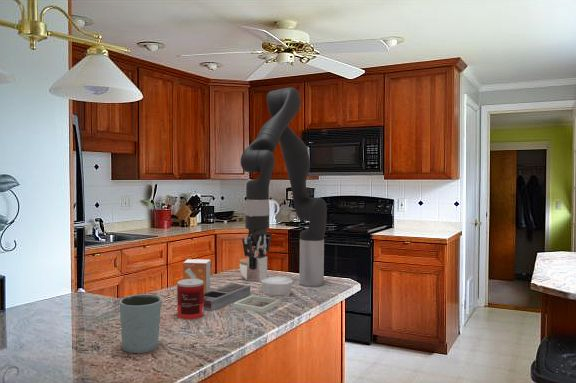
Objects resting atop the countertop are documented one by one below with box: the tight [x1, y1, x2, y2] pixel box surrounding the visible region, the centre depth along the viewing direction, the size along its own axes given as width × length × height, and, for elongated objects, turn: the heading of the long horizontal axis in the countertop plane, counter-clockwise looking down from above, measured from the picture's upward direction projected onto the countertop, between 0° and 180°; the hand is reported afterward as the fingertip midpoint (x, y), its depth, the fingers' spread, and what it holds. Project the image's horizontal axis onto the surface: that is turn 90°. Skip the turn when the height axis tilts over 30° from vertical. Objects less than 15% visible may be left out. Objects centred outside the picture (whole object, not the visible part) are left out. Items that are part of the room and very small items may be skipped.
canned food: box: [176, 279, 205, 320], centre depth 145 cm, size 8×8×11 cm
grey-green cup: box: [118, 293, 163, 354], centre depth 122 cm, size 10×10×12 cm
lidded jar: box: [239, 257, 255, 282], centre depth 196 cm, size 11×11×9 cm
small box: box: [182, 258, 212, 293], centre depth 167 cm, size 8×6×13 cm
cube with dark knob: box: [246, 254, 268, 282], centre depth 155 cm, size 5×5×7 cm
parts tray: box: [232, 294, 282, 314], centre depth 156 cm, size 11×11×2 cm
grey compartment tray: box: [204, 283, 251, 312], centre depth 161 cm, size 22×8×4 cm, turn 152°
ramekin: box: [260, 276, 294, 297], centre depth 173 cm, size 11×11×5 cm
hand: (257, 267), depth 155 cm, fingers closed on cube with dark knob, 4 cm apart
